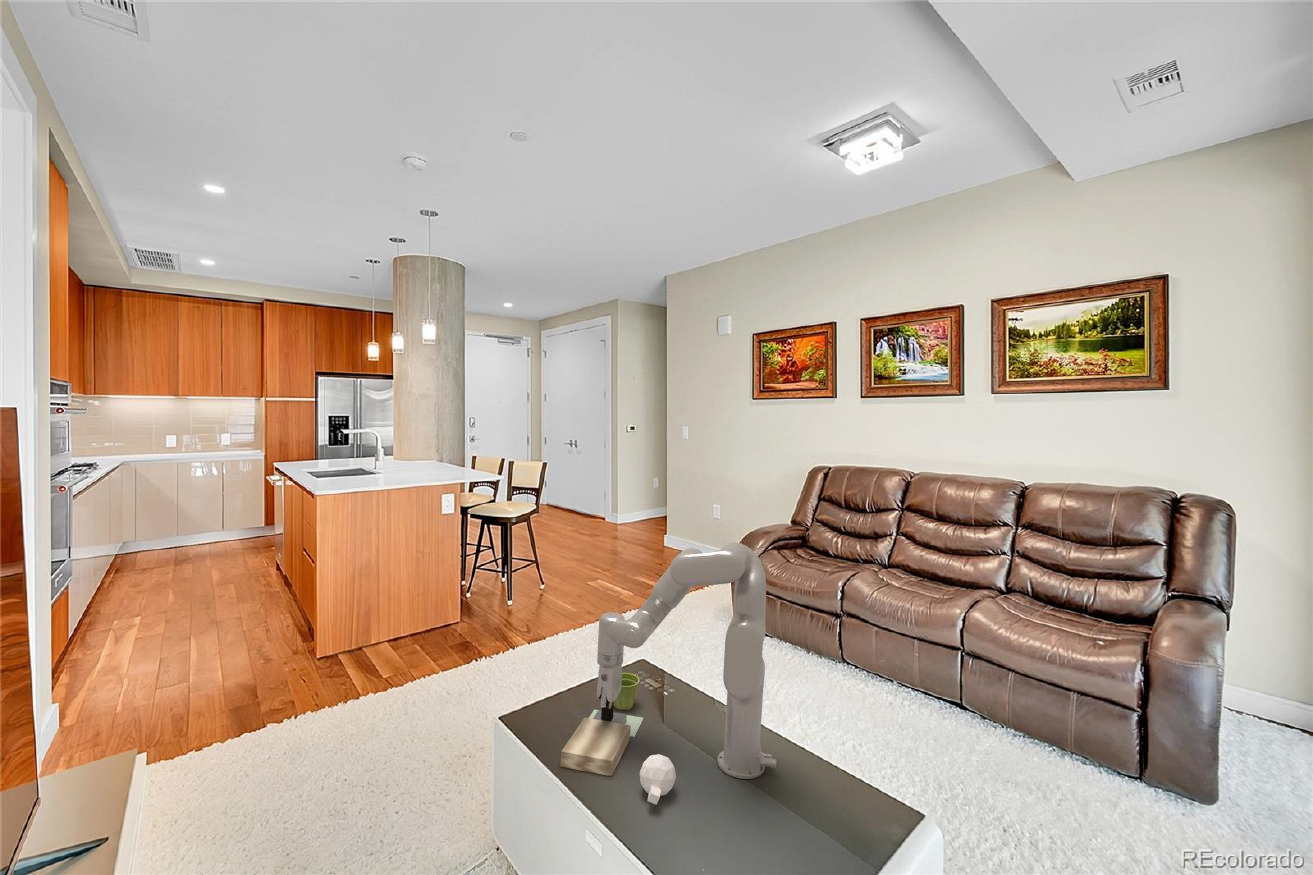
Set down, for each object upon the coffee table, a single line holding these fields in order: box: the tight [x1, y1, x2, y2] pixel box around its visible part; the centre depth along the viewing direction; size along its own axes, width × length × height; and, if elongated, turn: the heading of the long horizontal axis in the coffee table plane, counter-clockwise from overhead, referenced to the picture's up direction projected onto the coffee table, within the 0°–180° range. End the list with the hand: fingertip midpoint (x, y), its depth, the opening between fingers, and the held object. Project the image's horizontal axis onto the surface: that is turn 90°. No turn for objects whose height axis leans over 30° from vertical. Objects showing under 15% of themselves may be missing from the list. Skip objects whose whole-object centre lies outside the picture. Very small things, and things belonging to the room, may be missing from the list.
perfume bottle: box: [639, 753, 677, 805], centre depth 137 cm, size 9×9×12 cm
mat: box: [588, 709, 644, 738], centre depth 170 cm, size 16×11×1 cm
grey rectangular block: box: [593, 709, 628, 724], centre depth 169 cm, size 9×6×2 cm, turn 78°
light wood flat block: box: [560, 717, 631, 777], centre depth 154 cm, size 14×18×4 cm
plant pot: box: [613, 672, 641, 711], centre depth 181 cm, size 9×9×9 cm
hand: (607, 719), depth 163 cm, fingers closed
